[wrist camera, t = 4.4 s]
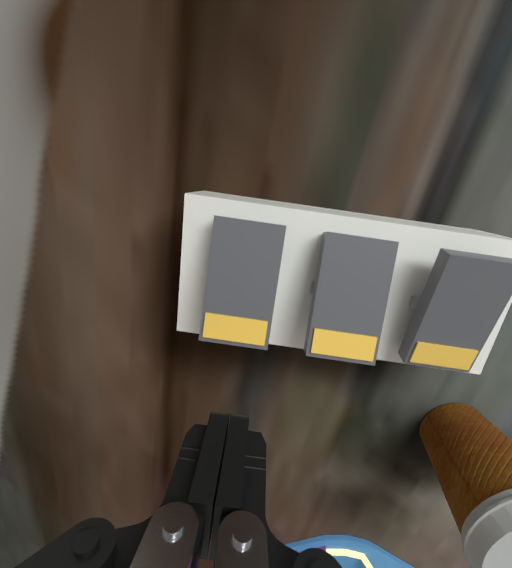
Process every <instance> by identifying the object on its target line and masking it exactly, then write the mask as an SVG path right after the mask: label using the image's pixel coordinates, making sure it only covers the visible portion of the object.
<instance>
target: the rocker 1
mask: <svg viewBox="0 0 512 568" xmlns="http://www.w3.org/2000/svg"><path fill="white" fill-rule="evenodd" d="M285 232H286V226H285V225H278V224H271V223H264V222H257V221H250V220H244V219H237V218H230V217H223V216H216V215H214V220H213V228H212V236H211V244H210V252H209V260H208V268H207V276H206V284H205V292H204V300H203V308H202V316H201V324H200V332H199V340H200V341H207V342H214V343H221V344H228V345H234V346H241V347H248V348H255V349H262V350H268V344H269V337H270V330H271V324H272V317H273V311H274V304H275V298H276V291H277V285H278V278H279V271H280V265H281V258H282V252H283V245H284V239H285Z"/></svg>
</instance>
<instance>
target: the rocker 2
mask: <svg viewBox="0 0 512 568" xmlns="http://www.w3.org/2000/svg"><path fill="white" fill-rule="evenodd" d="M398 245H399V242H396V241H389V240H382V239H375V238H369V237H362V236H355V235H348V234H341V233H334V232H323V234H322V240H321V247H320V253H319V259H318V265H317V271H316V277H315V283H314V289H313V295H312V301H311V307H310V313H309V319H308V325H307V331H306V337H305V343H304V349H303V350H304V353H305V355H306V356H310V357H317V358H324V359H331V360H338V361H345V362H352V363H359V364H366V365H373V366H375V363H376V358H377V353H378V348H379V342H380V337H381V332H382V327H383V322H384V317H385V312H386V307H387V302H388V296H389V291H390V286H391V281H392V276H393V271H394V266H395V261H396V255H397V250H398Z"/></svg>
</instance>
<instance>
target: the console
mask: <svg viewBox="0 0 512 568" xmlns="http://www.w3.org/2000/svg"><path fill="white" fill-rule="evenodd" d="M214 215H216V216H223V217H230V218H237V219H244V220H250V221H257V222H264V223H271V224H278V225H285V226H286V232H285V239H284V245H283V252H282V258H281V265H280V271H279V278H278V285H277V291H276V298H275V304H274V311H273V317H272V324H271V330H270V337H269V344H273V345H280V346H287V347H294V348H301V349H304V343H305V337H306V331H307V325H308V319H309V313H310V307H311V301H312V295H313V289H314V283H315V277H316V271H317V265H318V259H319V253H320V247H321V240H322V234H323V232H334V233H341V234H348V235H355V236H362V237H369V238H375V239H382V240H389V241H396V242H399V245H398V250H397V255H396V261H395V266H394V271H393V276H392V281H391V286H390V291H389V296H388V302H387V307H386V312H385V317H384V322H383V327H382V332H381V337H380V342H379V348H378V353H377V358H376V359H377V360H383V361H390V362H397V363H403V361H402V359H401V357H400V356H399V354H398V351H399V348H400V346H401V343H402V341H403V338H404V336H405V334H406V331H407V329H408V326H409V324H410V321H411V319H412V317H413V314H414V312H415V309H416V307H417V304H418V302H419V299H420V297H421V295H422V292H423V290H424V287H425V285H426V282H427V280H428V278H429V275H430V273H431V270H432V268H433V265H434V263H435V261H436V258H437V256H438V253H439V251H440V248H444V249H451V250H457V251H464V252H471V253H478V254H485V255H492V256H499V257H506V258H512V238H510V237H505V236H501V235H497V234H493V233H488V232H484V231H480V230H474V229H467V228H460V227H453V226H446V225H439V224H432V223H425V222H418V221H411V220H404V219H397V218H390V217H384V216H377V215H370V214H363V213H356V212H349V211H342V210H335V209H328V208H321V207H314V206H307V205H300V204H293V203H286V202H279V201H272V200H265V199H258V198H251V197H244V196H238V195H231V194H224V193H217V192H210V191H198V192H190V193H185V198H184V215H183V232H182V249H181V266H180V283H179V300H178V317H177V331H183V332H190V333H197V334H199V332H200V324H201V316H202V308H203V300H204V292H205V284H206V276H207V268H208V260H209V252H210V244H211V236H212V228H213V220H214ZM511 302H512V296H511V298H510V300H509V301H508V303H507V305H506V307H505V309H504V310H503V312H502V314H501V316H500V318H499V319H498V321H497V323H496V325H495V327H494V328H493V330H492V332H491V334H490V335H489V337H488V339H487V341H486V343H485V344H484V346H483V348H482V350H481V352H480V353H479V355H478V357H477V359H476V361H475V362H474V364H473V366H472V368H471V370H470V371H469V373H473V374H481V371H482V369H483V367H484V364H485V362H486V360H487V357H488V355H489V353H490V351H491V348H492V346H493V344H494V341H495V339H496V337H497V334H498V332H499V330H500V328H501V325H502V323H503V321H504V318H505V316H506V314H507V311H508V309H509V307H510V305H511ZM404 364H405V363H404ZM411 365H412V364H411ZM452 371H453V370H452ZM459 372H460V371H459ZM466 373H467V372H466Z"/></svg>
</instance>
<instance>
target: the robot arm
mask: <svg viewBox="0 0 512 568" xmlns="http://www.w3.org/2000/svg"><path fill="white" fill-rule="evenodd" d="M228 423H229V428H228ZM248 424H249V416H244V415H237V414H231V416H230V422H229V414H228V413H221V412H213V411H211V413H210V417H209V421H208V424H207V425H199V424H195V425H194V426H193V427H192V428H191V429H190V430H189V431H188V432H187V433H186V435H185V438H184V441H183V444H182V448H181V450H180V453H179V456H178V459H177V462H176V465H175V468H174V471H173V474H172V477H171V480H170V483H169V486H168V489H167V492H166V495H165V498H164V500H163V503H162V505H161V506H160V508H159V509H158V510H157V511H156V512H155V513H154V515H153V516H151V517H150V518H149V519H147V520H145V521H144V522H141V523H139V524H136V525H132V526H127V527H123V528H118V529H115V528H114V526H113V525H112V523H111V522H109V521H108V520H106V519H104V518H90V519H87V520H84V521H82V522H80V523H78V524H77V525H75V526H74V527H72V528H71V529H69V530H68V531H66V532H65V533H64V534H62V535H61V536H59V537H58V538H56V539H55V540H53V541H52V542H51V543H49V544H48V545H46V546H45V547H43V548H42V549H40V550H39V551H38V552H36V553H35V554H33V555H32V556H30V557H29V558H28V559H26V560H25V561H23V562H22V563H20V564H19V565H17V566H16V567H15V568H198V566H199V561H200V559H204V560H207V556H208V550H209V544H210V539H211V547H210V556H209V560H213V561H214V568H342V567H341V565H340V564H339V563H338V561H337V560H336V559H335V558H334V557H333V556H332V555H331V554H329V553H328V552H326V551H324V550H322V549H319V548H308V549H306V550H304V551H302V552H301V553H299V552H297V551H295V550H293V549H291V548H290V547H288V546H286V545H284V544H283V543H281V542H280V541H279V540H277V539H276V538H275V536H274V535H273V534H272V533H271V531H270V529H269V527H268V525H267V522H266V517H265V490H266V443H265V440H264V438H263V436H262V434H261V432H253V431H248ZM227 432H228V434H227ZM212 527H213V529H212ZM211 533H212V538H211Z"/></svg>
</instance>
